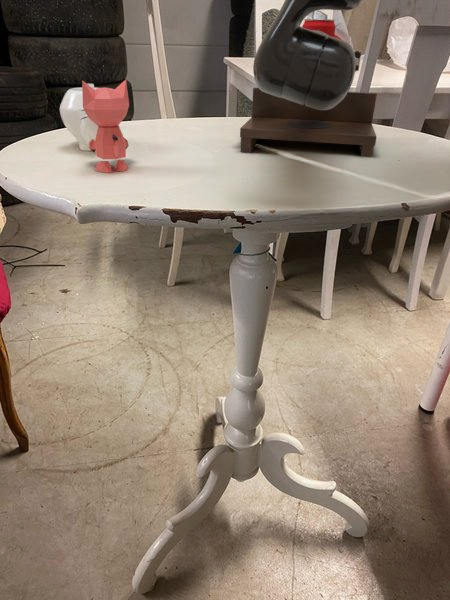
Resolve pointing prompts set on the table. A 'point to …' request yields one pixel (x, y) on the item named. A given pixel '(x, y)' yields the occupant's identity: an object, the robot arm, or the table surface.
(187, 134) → the table surface
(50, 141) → the table surface
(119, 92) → the cat figurine
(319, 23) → the beverage can
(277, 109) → the bench
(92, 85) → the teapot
